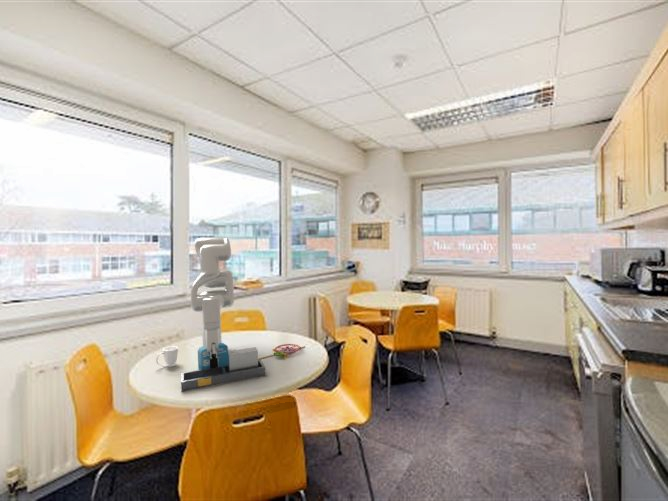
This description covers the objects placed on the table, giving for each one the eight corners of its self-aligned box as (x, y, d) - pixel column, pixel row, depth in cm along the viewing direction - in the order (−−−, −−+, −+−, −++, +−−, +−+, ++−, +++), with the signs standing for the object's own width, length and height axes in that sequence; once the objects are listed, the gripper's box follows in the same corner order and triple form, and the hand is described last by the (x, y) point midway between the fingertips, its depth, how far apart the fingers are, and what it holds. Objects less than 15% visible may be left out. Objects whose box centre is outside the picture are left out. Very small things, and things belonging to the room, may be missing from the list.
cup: (181, 364, 161) (181, 348, 161) (159, 371, 154) (158, 353, 153) (175, 361, 166) (174, 344, 166) (153, 367, 159) (153, 350, 158)
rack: (181, 381, 142) (180, 356, 142) (260, 367, 156) (260, 344, 155) (181, 392, 133) (180, 365, 132) (265, 376, 146) (265, 351, 146)
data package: (201, 377, 146) (200, 350, 146) (198, 374, 150) (197, 347, 149) (228, 370, 154) (227, 344, 153) (225, 367, 157) (224, 341, 157)
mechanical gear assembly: (312, 351, 177) (297, 345, 189) (312, 343, 177) (296, 337, 189) (260, 366, 158) (246, 358, 170) (260, 357, 158) (246, 350, 170)
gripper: (201, 321, 157) (203, 360, 158) (204, 330, 141) (205, 373, 142) (218, 319, 160) (220, 357, 161) (222, 328, 144) (224, 370, 145)
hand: (213, 364), depth 151 cm, fingers closed on data package, 5 cm apart
